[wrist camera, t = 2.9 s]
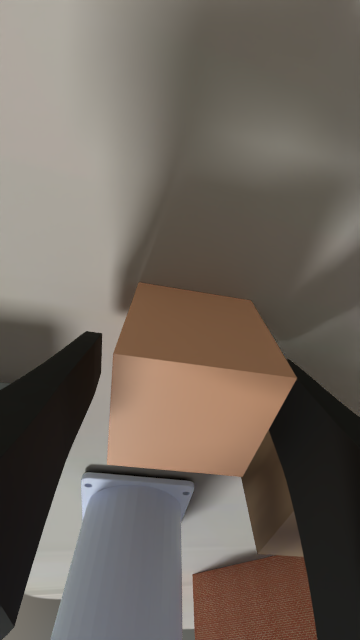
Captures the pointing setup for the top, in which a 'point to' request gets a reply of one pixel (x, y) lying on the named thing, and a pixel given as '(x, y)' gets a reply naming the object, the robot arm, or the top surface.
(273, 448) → the walnut block
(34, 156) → the top surface
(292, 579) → the house
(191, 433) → the terracotta block
